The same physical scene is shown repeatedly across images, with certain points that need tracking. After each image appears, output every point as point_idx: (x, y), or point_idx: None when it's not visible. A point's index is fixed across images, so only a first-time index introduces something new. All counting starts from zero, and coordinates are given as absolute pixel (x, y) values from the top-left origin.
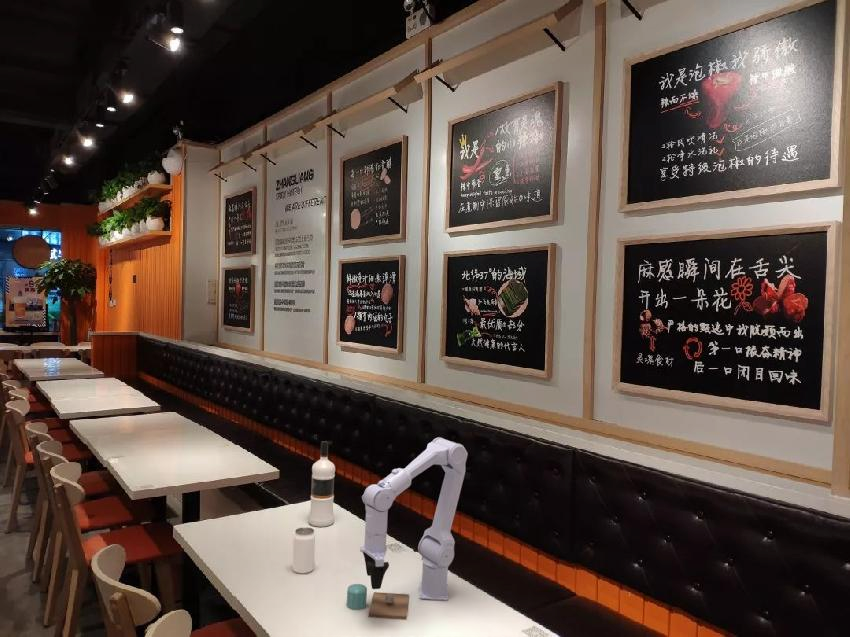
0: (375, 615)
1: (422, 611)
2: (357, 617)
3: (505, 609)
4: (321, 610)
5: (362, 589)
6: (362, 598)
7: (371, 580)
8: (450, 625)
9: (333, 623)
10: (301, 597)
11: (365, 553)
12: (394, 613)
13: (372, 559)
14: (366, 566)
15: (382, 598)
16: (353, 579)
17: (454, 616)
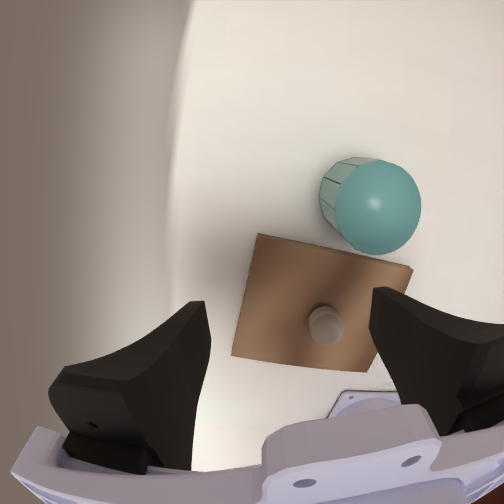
0: (252, 260)
1: (275, 390)
2: (258, 190)
3: None
4: (324, 58)
5: (367, 233)
6: (332, 224)
7: (161, 325)
8: (200, 425)
9: (220, 97)
10: (413, 17)
11: (458, 361)
12: (252, 325)
13: (413, 376)
14: (401, 308)
15: (364, 296)
16: (500, 210)
17: (241, 438)
